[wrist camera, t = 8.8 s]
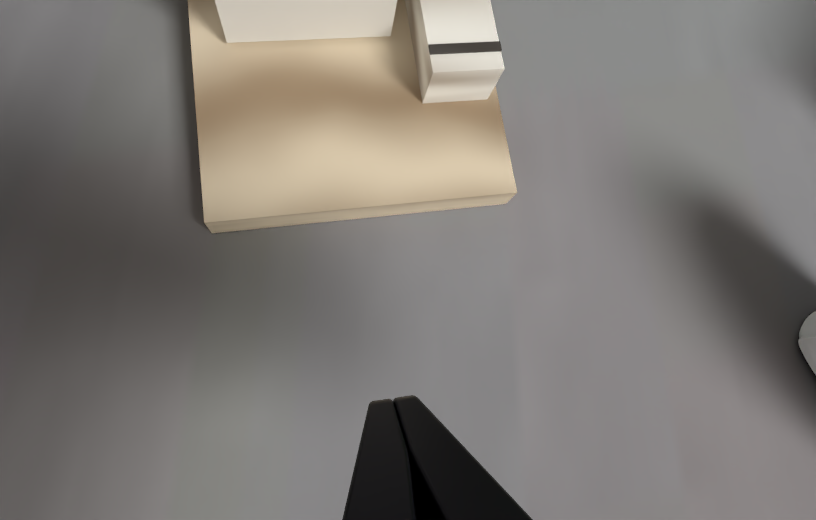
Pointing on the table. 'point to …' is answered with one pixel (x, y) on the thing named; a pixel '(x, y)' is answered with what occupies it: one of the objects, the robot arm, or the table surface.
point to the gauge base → (350, 120)
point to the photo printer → (809, 340)
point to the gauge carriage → (304, 19)
